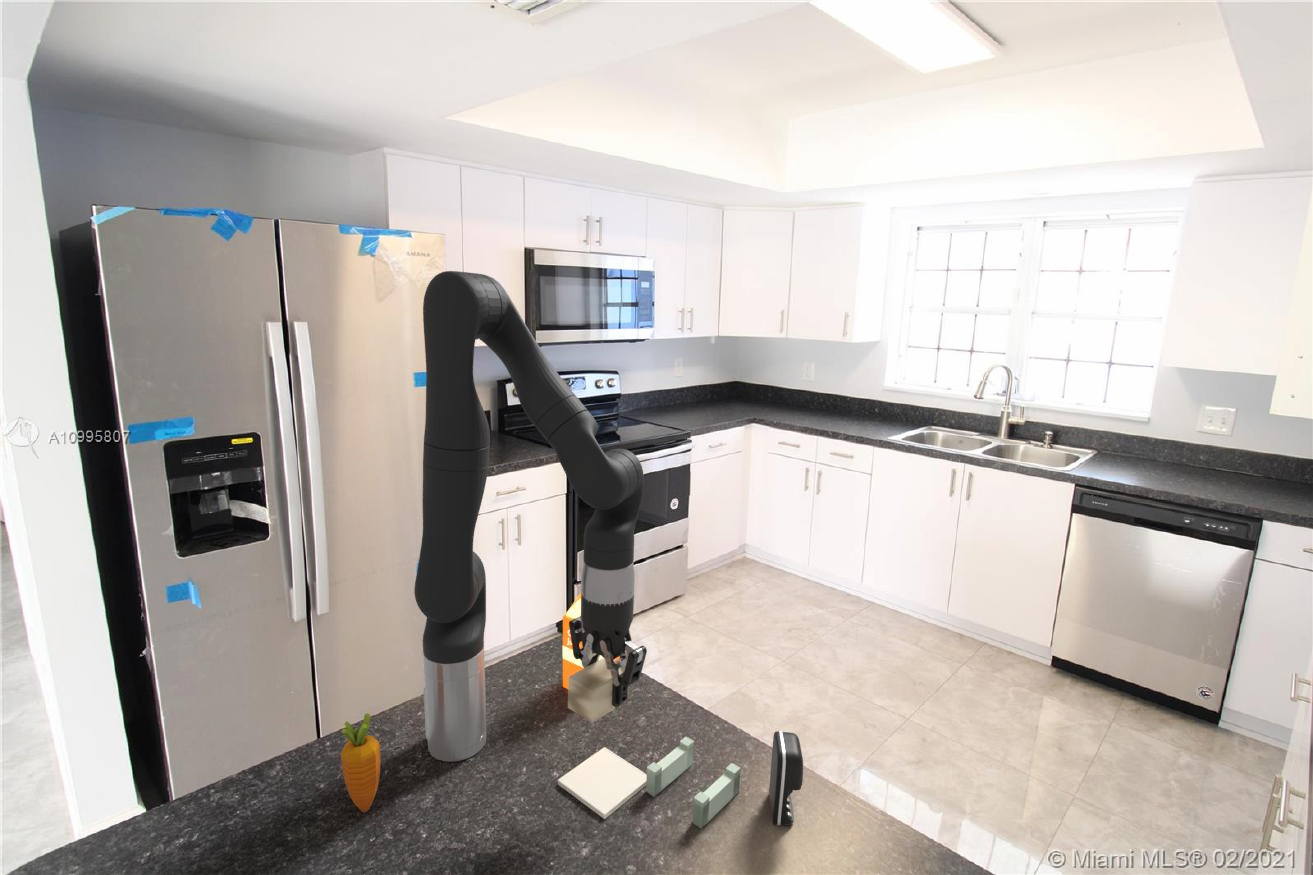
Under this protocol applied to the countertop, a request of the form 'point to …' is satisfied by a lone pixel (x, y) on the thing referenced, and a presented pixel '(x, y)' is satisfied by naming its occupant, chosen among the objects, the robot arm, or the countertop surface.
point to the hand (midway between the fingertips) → (604, 695)
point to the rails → (703, 801)
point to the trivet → (603, 782)
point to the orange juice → (569, 661)
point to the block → (591, 691)
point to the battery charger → (784, 776)
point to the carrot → (361, 764)
